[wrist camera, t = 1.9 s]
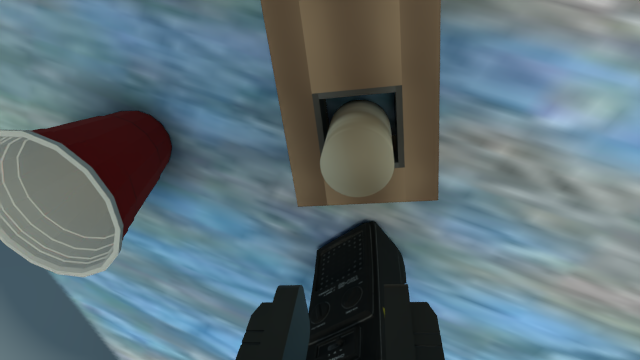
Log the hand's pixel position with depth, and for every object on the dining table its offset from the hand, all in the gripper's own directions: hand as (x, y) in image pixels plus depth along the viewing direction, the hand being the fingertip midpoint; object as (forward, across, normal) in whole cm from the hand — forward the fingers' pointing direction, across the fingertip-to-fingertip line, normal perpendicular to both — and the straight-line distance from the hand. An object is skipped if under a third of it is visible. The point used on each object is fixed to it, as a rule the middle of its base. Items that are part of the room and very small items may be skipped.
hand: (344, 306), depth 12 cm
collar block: (+21, 0, -6) cm, 22 cm away
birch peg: (+16, 0, 0) cm, 16 cm away
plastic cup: (+21, +20, +2) cm, 29 cm away
